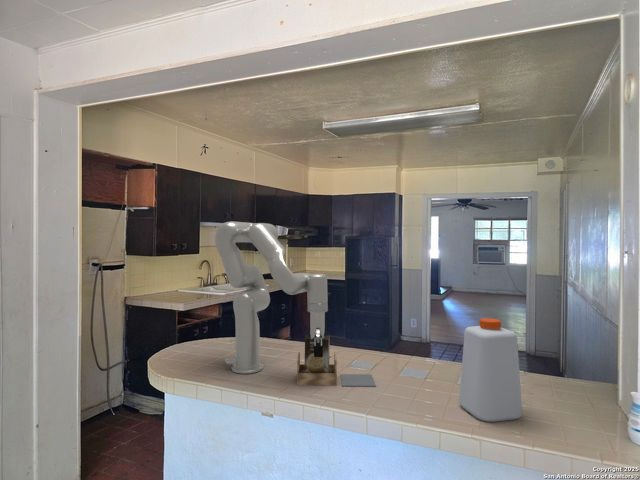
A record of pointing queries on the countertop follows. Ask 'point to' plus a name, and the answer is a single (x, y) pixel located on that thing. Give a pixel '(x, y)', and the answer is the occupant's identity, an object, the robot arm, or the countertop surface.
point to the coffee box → (313, 362)
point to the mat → (357, 380)
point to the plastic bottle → (490, 372)
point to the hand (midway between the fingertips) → (318, 353)
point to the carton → (317, 375)
